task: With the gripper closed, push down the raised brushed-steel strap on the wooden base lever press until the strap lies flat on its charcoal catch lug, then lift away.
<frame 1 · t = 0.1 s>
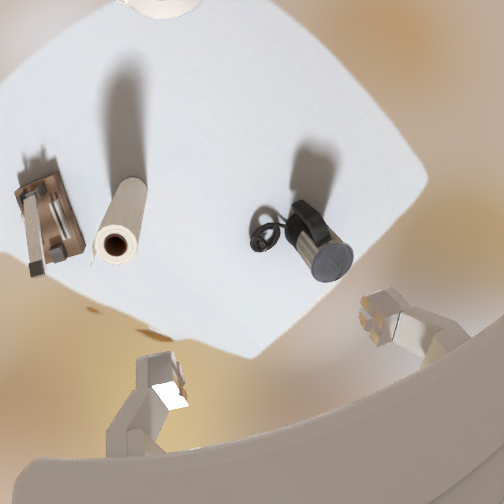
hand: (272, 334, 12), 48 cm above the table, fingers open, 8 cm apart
milk frother: (286, 230, 67), on the table
paper towel roll: (129, 191, 54), on the table
steel strap: (32, 233, 42), point 10 cm above the table, hinge at 35.0°
wooden base lever press: (52, 216, 51), on the table
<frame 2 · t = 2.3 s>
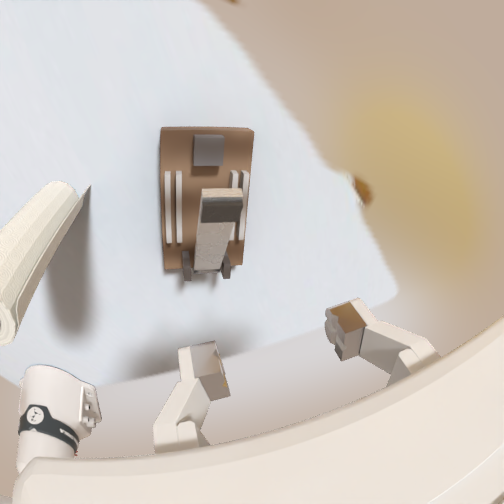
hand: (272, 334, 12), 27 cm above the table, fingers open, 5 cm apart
paper towel roll: (63, 202, 32), on the table
steel strap: (212, 242, 29), point 10 cm above the table, hinge at 35.0°
wooden base lever press: (202, 195, 36), on the table
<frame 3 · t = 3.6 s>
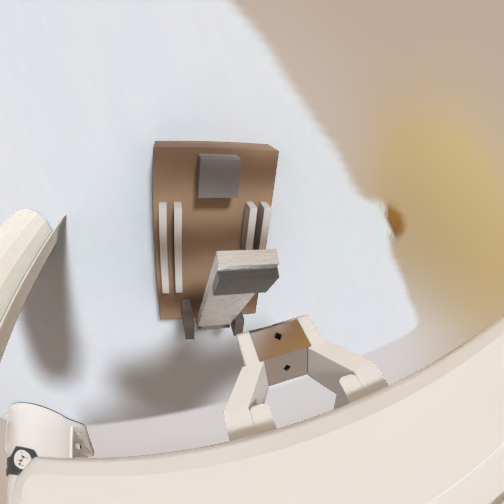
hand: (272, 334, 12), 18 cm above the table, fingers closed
paper towel roll: (35, 235, 24), on the table
steel strap: (224, 304, 21), point 10 cm above the table, hinge at 35.0°
wooden base lever press: (207, 229, 29), on the table
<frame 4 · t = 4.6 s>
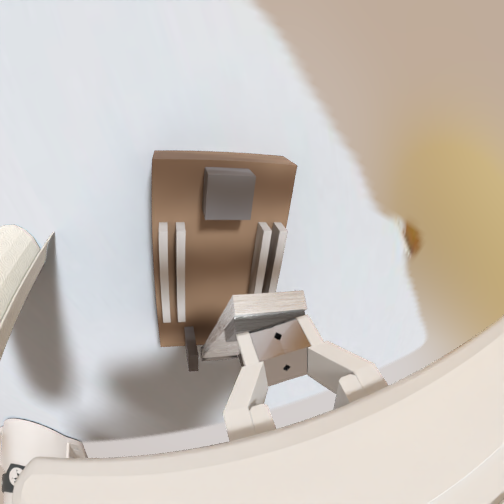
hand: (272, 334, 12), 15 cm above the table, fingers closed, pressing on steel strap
paper towel roll: (22, 252, 21), on the table
steel strap: (234, 341, 19), point 10 cm above the table, hinge at 33.9°, touching gripper
wooden base lever press: (212, 250, 26), on the table
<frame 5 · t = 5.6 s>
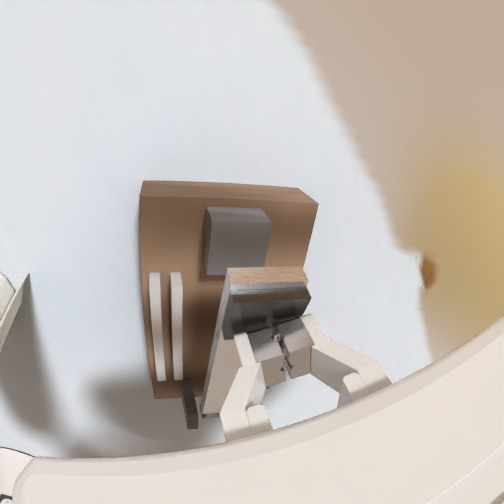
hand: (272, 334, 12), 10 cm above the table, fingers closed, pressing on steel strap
steel strap: (235, 373, 16), point 7 cm above the table, hinge at 13.4°, touching gripper
wooden base lever press: (212, 295, 22), on the table
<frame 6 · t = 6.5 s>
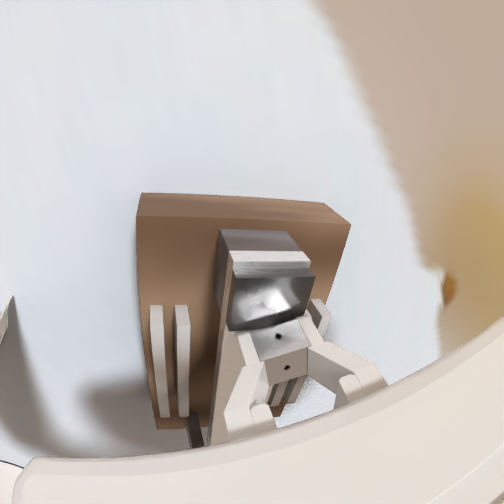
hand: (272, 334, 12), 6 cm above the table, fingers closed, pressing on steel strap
steel strap: (243, 389, 15), point 6 cm above the table, hinge at -0.7°, touching gripper
wooden base lever press: (222, 322, 19), on the table
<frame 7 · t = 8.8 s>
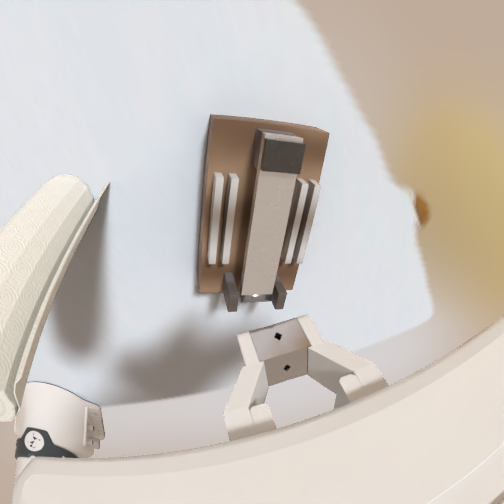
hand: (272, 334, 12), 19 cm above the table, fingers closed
paper towel roll: (73, 202, 25), on the table
steel strap: (268, 228, 25), point 6 cm above the table, hinge at -0.8°
wooden base lever press: (252, 204, 30), on the table
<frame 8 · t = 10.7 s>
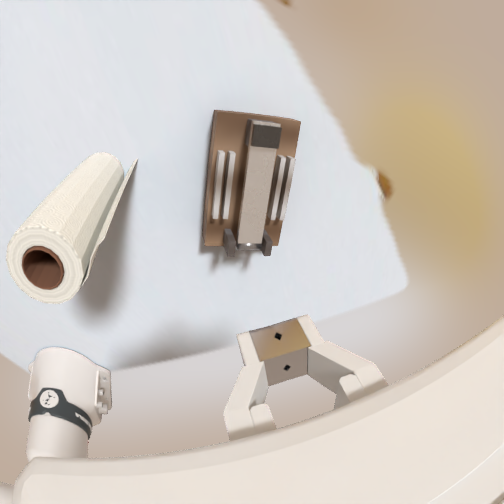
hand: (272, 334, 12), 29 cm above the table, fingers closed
paper towel roll: (106, 175, 34), on the table
steel strap: (256, 189, 34), point 6 cm above the table, hinge at -0.8°
wooden base lever press: (245, 177, 39), on the table
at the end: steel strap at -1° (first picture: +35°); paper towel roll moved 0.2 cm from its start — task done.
